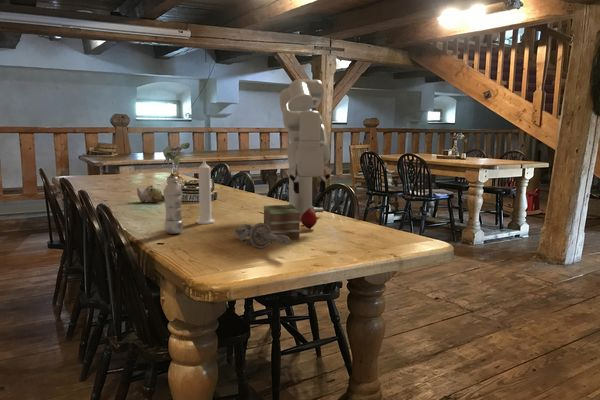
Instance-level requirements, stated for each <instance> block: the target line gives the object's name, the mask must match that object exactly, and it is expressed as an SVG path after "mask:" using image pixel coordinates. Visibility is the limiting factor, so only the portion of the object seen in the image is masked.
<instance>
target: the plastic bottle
mask: <svg viewBox="0 0 600 400" xmlns="http://www.w3.org/2000/svg"><path fill="white" fill-rule="evenodd" d="M166 183H167V185H166V186H165V188H164V189H163V196H164V199H165V201H164V204H165V222H164V230H165V233H167V234H171V235H177V234H181V233H182V232H183V230H184V221H183V216H182V199H183V190H182V188H181V187H180V185H179V184H178V183H179V179H178V176H167V177H166Z"/></svg>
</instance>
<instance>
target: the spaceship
mask: <svg viewBox="0 0 600 400" xmlns="http://www.w3.org/2000/svg"><path fill="white" fill-rule="evenodd" d="M260 230H262V231H260ZM264 230H265V232H264ZM234 232H235V235H236V237H237V238H238V239H239V240H240V242H243V243H249V242H250V243H251V245H252V246H253V247H255V248H257V249H264V248H265V247H268V245H269V244H270V245H274V242H276V243H280V244H282V245H286V246H289V245H291V244H292V239H289V238H288V237H286V236H284V235H274V234H272V232H271V229H270V227H269V226H268V225H267V224H265V223H264V222H259V223H256V224H254V225H253V226H251V224H247V223H246V224H242V225H240V226H239V227H237V228H235V229H234ZM247 236H248V237H249V239H246V238H247ZM245 239H246V240H245Z"/></svg>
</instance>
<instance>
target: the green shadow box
mask: <svg viewBox="0 0 600 400" xmlns="http://www.w3.org/2000/svg"><path fill="white" fill-rule="evenodd" d="M263 223H265V224H267V225H268V226H269V227H270V229H271V232H272V234H274V235H284V236H286V237H288V238H289V239H290V240H300V239H301V238H300V235H301V234H300V232H301V229H300V227H301V226H300V224H301V220H300V209H299V208H297V207H295V206H293V205H289V204H274V205H273V204H271V205H270V204H269V205H263ZM263 232H265V230H263Z"/></svg>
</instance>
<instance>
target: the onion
mask: <svg viewBox="0 0 600 400" xmlns="http://www.w3.org/2000/svg"><path fill="white" fill-rule="evenodd" d="M317 217H318V216H317V214H316V213H314V212H313V211H311V208H308V209H307V211H305V212H304V213H303V214H302V217H301V220H300V223H301V224H302V225H303V226H304V227H305V229H307V230H310V229H312V228H313V227H315V225H316V224H317V221H318V218H317Z"/></svg>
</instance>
